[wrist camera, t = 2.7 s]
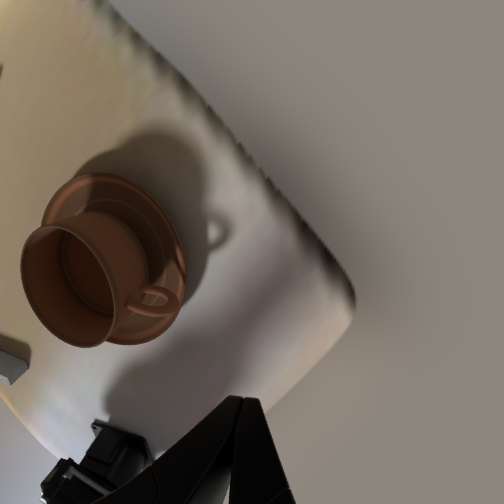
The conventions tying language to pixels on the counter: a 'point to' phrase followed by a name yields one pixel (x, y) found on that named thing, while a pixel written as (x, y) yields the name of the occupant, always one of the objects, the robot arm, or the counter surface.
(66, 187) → the cup and saucer
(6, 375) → the u-shaped low fence
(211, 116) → the counter surface
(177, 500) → the robot arm
